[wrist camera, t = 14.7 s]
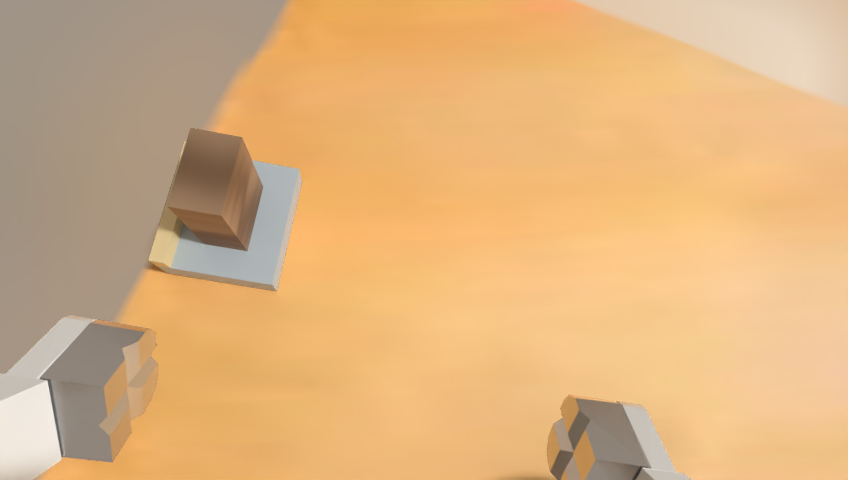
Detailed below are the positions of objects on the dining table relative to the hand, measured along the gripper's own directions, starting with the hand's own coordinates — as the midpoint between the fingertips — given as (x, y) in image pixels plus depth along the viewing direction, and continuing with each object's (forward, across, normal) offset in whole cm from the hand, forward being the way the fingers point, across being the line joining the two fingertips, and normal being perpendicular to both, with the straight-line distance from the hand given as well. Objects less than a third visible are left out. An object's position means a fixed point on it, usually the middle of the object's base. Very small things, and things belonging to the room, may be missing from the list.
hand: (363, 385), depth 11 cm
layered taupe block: (+27, +11, +11) cm, 31 cm away
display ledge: (+28, +11, +13) cm, 33 cm away
